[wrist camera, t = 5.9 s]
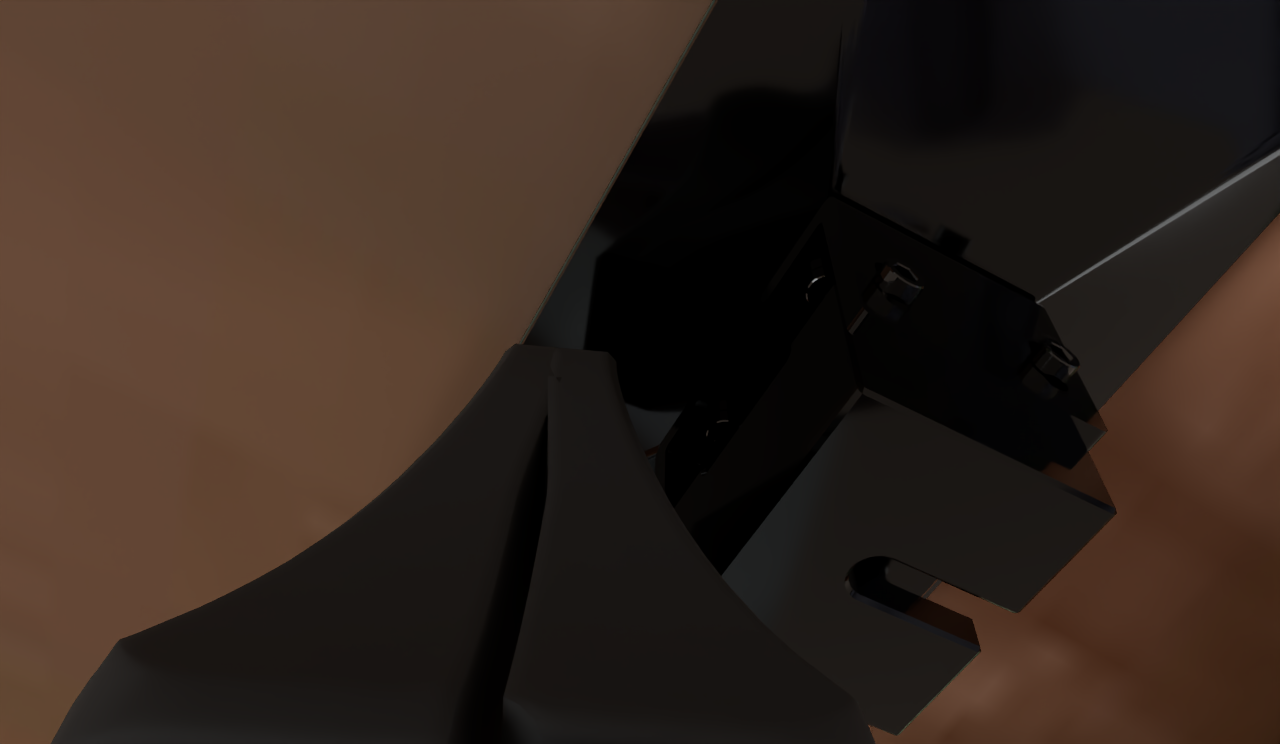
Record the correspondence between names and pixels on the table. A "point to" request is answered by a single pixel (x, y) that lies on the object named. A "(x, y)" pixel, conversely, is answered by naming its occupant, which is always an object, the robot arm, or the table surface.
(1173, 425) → the table surface
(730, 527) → the build plate
